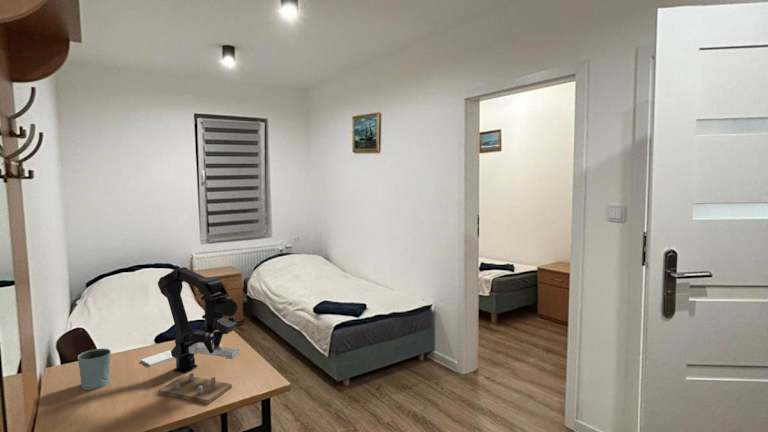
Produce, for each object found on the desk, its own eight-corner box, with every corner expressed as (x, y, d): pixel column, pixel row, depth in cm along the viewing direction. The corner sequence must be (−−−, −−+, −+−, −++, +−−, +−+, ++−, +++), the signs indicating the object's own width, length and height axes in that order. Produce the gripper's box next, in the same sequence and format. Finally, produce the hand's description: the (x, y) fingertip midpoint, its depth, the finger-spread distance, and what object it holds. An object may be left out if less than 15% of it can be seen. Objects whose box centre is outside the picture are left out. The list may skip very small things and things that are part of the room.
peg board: (158, 393, 150) (158, 383, 150) (184, 378, 162) (183, 368, 161) (208, 404, 144) (208, 393, 143) (231, 387, 155) (231, 377, 155)
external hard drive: (140, 363, 176) (169, 353, 186) (149, 368, 172) (179, 357, 182) (140, 359, 176) (169, 349, 186) (149, 364, 171) (179, 354, 181)
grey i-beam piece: (188, 353, 162) (188, 346, 161) (197, 348, 166) (196, 342, 166) (232, 359, 156) (232, 353, 156) (239, 354, 161) (239, 348, 160)
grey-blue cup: (73, 388, 154) (71, 356, 153) (99, 375, 163) (98, 346, 162) (92, 393, 150) (90, 361, 149) (118, 380, 160) (116, 350, 159)
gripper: (214, 322, 148) (215, 364, 150) (245, 306, 166) (246, 344, 168) (188, 319, 151) (189, 360, 153) (221, 304, 169) (222, 341, 171)
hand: (213, 351), depth 161 cm, fingers closed on grey i-beam piece, 3 cm apart
